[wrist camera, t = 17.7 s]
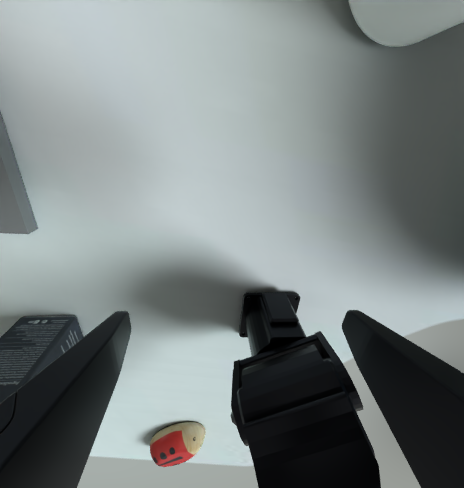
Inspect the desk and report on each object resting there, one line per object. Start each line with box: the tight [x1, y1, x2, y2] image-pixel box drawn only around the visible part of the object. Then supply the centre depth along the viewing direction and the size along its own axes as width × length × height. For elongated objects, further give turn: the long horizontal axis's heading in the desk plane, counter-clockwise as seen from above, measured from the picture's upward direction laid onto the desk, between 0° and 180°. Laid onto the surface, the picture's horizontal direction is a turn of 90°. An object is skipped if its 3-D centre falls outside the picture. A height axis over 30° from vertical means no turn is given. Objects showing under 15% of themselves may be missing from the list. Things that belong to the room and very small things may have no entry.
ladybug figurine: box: [150, 422, 205, 467], centre depth 35 cm, size 7×10×4 cm
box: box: [0, 316, 83, 403], centre depth 21 cm, size 8×6×11 cm
